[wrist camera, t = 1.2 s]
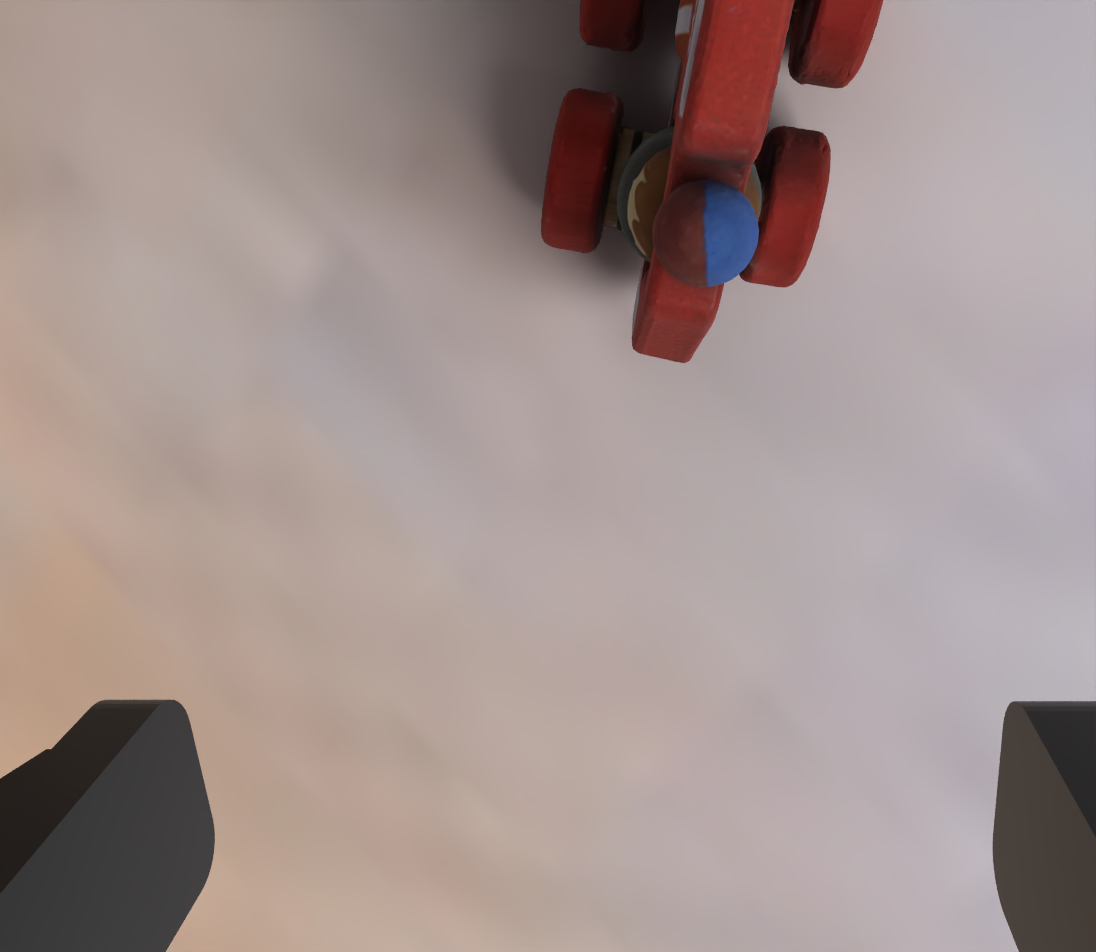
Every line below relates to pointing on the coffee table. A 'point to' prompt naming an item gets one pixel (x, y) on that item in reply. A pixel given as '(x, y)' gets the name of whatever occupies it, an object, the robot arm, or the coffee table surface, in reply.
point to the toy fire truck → (703, 156)
